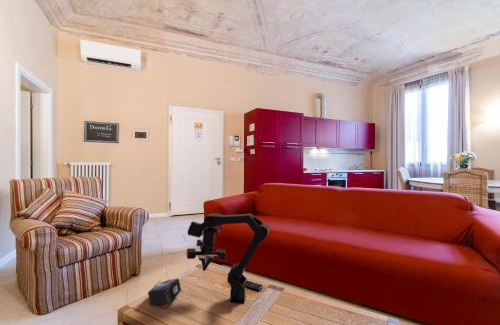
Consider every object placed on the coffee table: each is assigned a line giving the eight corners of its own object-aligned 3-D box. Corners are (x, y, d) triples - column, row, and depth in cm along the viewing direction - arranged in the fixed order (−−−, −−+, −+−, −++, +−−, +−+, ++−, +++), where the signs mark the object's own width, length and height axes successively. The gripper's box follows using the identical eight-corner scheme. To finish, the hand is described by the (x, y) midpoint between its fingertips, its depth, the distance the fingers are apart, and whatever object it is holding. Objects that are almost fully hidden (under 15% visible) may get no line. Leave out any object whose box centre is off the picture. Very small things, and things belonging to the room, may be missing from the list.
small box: (168, 288, 111) (147, 291, 113) (171, 302, 111) (150, 306, 113) (178, 277, 122) (158, 280, 123) (181, 290, 121) (161, 293, 123)
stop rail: (178, 292, 124) (178, 289, 124) (165, 309, 110) (165, 305, 110) (175, 292, 124) (175, 289, 124) (161, 308, 110) (161, 305, 110)
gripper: (223, 234, 133) (219, 262, 134) (187, 232, 127) (183, 262, 127) (228, 242, 122) (223, 273, 123) (189, 241, 116) (184, 274, 117)
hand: (203, 270), depth 123 cm, fingers closed
